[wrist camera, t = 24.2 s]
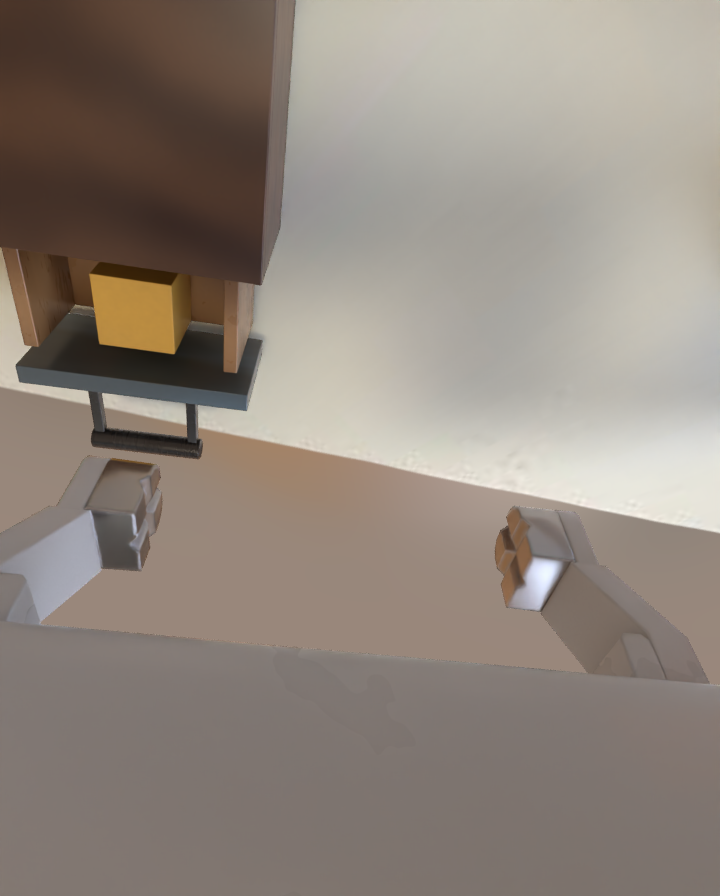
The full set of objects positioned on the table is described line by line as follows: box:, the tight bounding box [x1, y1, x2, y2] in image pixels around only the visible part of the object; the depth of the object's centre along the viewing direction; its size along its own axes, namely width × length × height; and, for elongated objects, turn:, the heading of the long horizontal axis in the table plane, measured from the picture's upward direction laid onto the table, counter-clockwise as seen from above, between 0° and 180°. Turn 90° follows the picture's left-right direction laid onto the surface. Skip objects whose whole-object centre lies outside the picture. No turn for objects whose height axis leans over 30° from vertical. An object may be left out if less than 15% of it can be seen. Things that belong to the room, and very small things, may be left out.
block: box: [89, 262, 191, 354], centre depth 35 cm, size 4×4×4 cm
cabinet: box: [0, 0, 296, 285], centre depth 27 cm, size 16×15×9 cm
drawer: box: [2, 247, 263, 459], centre depth 35 cm, size 20×13×7 cm
